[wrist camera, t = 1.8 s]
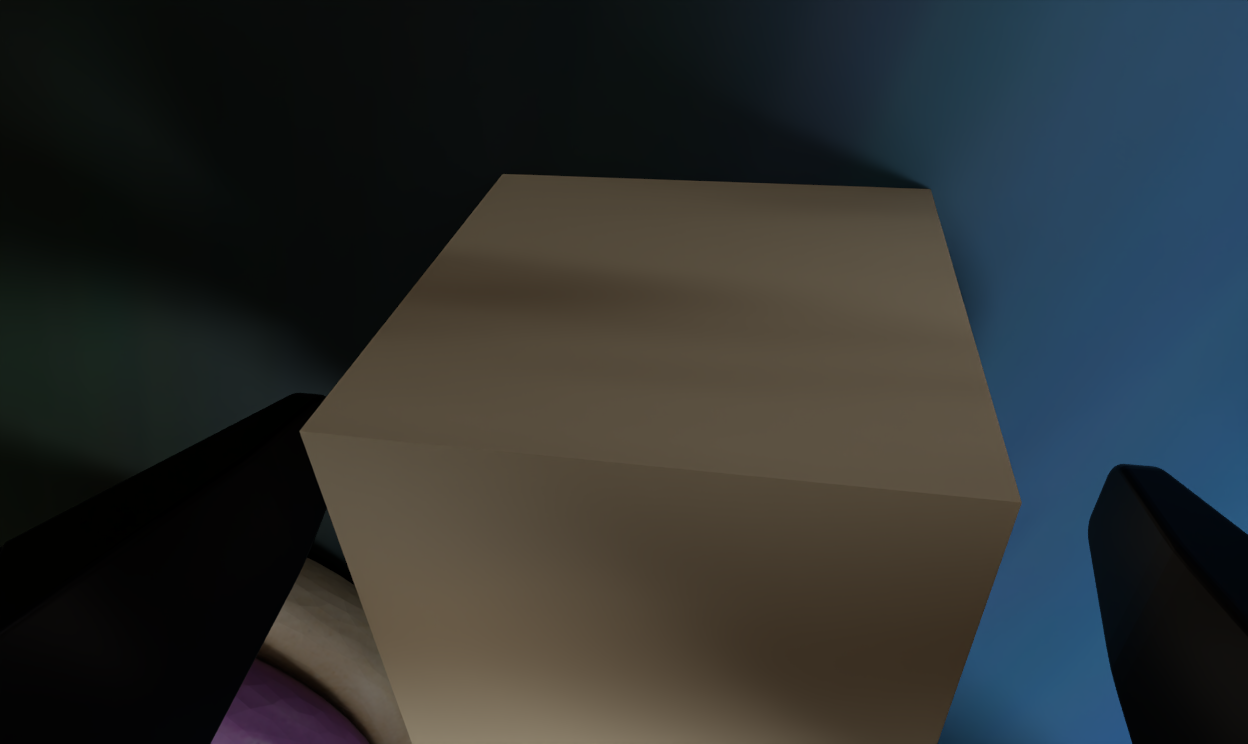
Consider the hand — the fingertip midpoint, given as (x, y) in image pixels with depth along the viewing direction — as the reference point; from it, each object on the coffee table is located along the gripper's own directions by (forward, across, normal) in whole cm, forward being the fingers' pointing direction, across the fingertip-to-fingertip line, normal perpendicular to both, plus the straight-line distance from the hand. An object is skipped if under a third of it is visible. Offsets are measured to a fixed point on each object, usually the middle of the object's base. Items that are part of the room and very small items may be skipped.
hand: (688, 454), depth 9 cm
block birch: (+2, 0, 0) cm, 2 cm away
